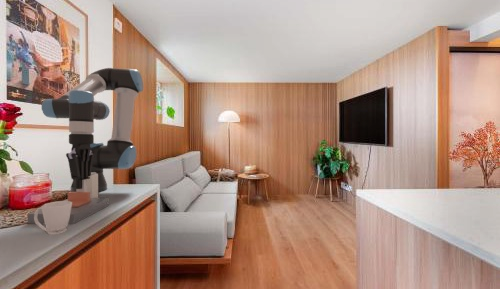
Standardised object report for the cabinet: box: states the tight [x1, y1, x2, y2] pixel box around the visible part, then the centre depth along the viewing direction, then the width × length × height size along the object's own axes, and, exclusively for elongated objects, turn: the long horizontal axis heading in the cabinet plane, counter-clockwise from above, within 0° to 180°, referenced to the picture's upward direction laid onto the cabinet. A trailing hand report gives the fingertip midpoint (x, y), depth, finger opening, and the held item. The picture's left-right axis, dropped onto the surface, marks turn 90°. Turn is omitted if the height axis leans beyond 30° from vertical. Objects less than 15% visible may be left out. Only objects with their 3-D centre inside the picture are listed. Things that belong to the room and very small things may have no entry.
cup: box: [34, 200, 72, 236], centre depth 70 cm, size 7×10×8 cm
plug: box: [86, 172, 99, 198], centre depth 103 cm, size 4×4×12 cm
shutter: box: [67, 191, 91, 207], centre depth 87 cm, size 7×7×4 cm
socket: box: [26, 197, 109, 225], centre depth 86 cm, size 20×14×3 cm
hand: (81, 197), depth 91 cm, fingers closed
